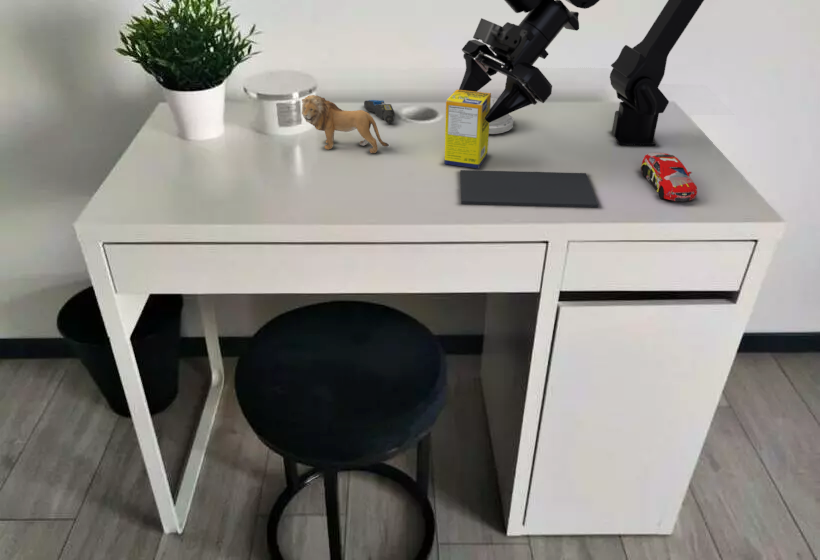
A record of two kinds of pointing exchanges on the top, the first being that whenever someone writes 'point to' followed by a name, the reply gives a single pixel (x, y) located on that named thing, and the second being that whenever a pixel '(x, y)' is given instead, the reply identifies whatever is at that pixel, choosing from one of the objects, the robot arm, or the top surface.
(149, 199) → the top surface
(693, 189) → the race car
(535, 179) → the desk pad
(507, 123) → the mechanical component
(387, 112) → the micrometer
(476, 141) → the supplement box
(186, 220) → the top surface
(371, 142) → the lion figurine
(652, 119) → the robot arm
